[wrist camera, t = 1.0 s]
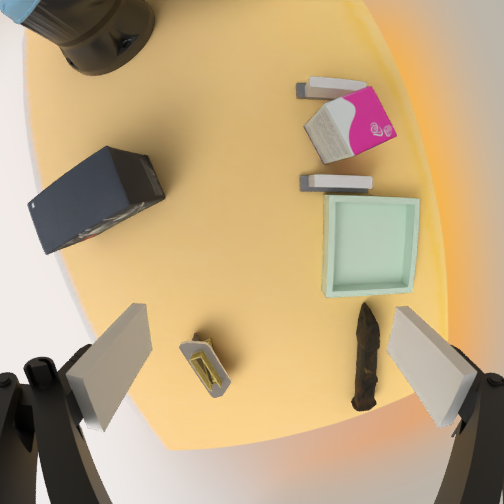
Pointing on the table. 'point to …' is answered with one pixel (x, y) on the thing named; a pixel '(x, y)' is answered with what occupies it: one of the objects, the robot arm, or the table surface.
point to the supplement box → (349, 126)
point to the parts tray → (369, 245)
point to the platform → (206, 365)
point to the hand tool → (366, 360)
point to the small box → (94, 198)
